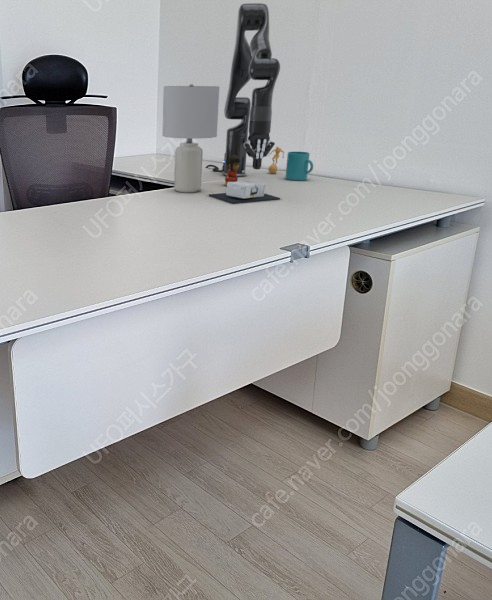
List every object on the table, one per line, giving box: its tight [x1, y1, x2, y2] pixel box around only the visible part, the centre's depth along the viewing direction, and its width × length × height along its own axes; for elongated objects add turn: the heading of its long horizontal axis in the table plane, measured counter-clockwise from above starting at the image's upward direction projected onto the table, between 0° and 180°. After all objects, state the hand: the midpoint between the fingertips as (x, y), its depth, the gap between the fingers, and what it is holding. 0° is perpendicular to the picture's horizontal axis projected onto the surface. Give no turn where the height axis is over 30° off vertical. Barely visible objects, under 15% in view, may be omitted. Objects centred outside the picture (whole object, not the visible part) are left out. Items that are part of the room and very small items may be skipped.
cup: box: [284, 151, 314, 182], centre depth 253 cm, size 9×12×11 cm
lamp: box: [162, 83, 220, 193], centre depth 223 cm, size 20×20×39 cm
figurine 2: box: [267, 146, 285, 175], centre depth 270 cm, size 8×6×12 cm
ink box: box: [225, 180, 266, 199], centre depth 213 cm, size 9×5×12 cm
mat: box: [208, 192, 281, 205], centre depth 217 cm, size 16×20×1 cm
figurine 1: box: [224, 155, 241, 186], centre depth 239 cm, size 6×6×12 cm
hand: (256, 169), depth 215 cm, fingers closed
